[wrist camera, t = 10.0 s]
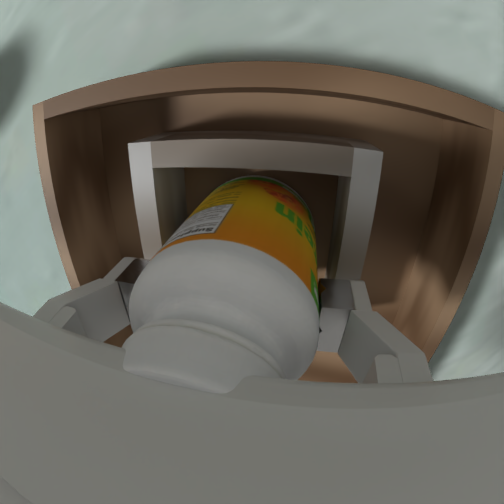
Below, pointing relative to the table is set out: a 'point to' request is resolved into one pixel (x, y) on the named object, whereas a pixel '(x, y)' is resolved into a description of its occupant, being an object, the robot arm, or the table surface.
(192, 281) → the supplement bottle
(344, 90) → the walled tray
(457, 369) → the table surface
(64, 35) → the table surface
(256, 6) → the table surface
